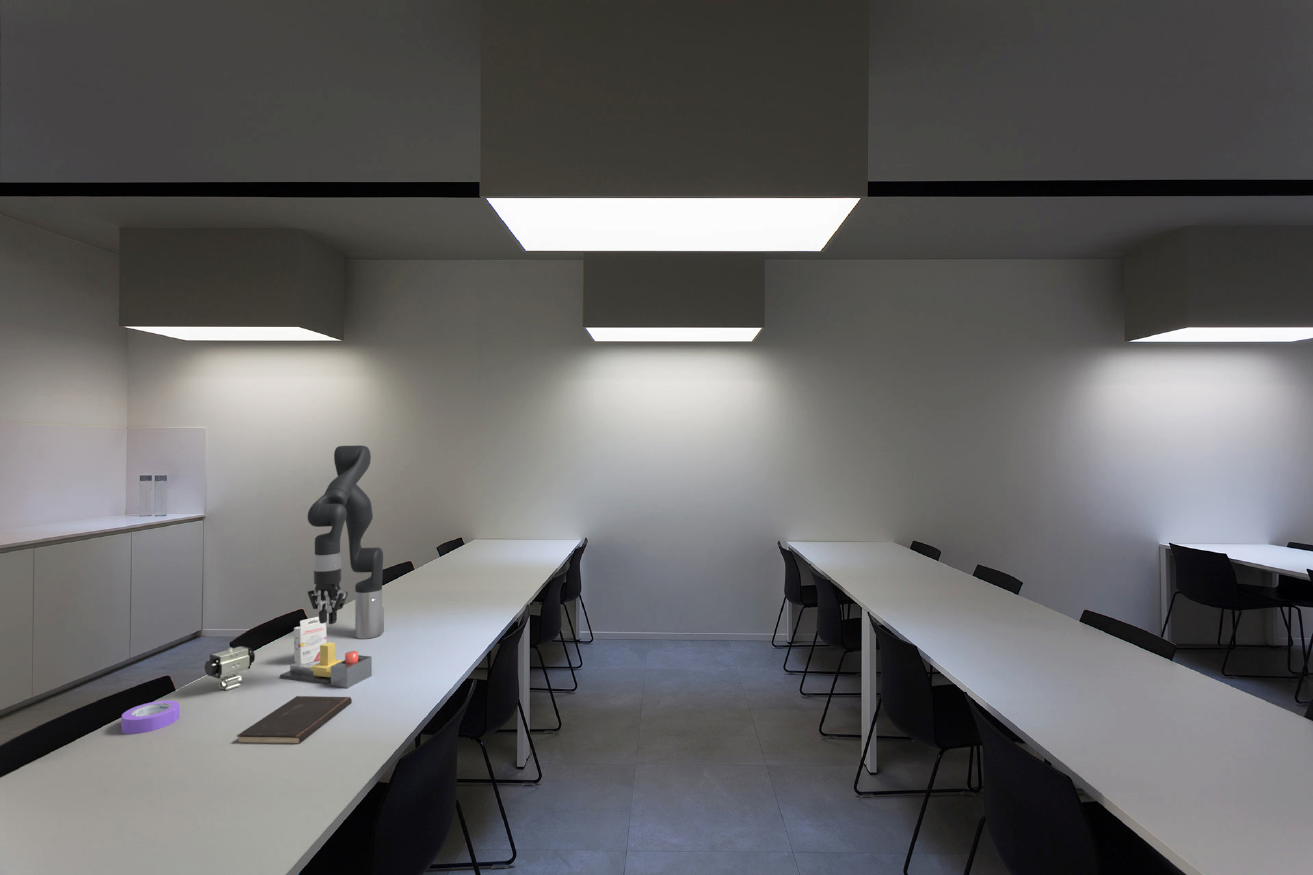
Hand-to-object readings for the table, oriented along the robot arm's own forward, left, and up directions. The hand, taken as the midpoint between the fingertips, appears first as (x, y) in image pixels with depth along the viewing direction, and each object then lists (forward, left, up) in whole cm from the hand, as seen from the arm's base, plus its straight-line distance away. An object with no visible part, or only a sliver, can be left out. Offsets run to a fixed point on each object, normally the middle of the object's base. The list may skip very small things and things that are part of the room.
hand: (327, 622), depth 189 cm
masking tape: (+37, -21, -18) cm, 46 cm away
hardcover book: (+26, +16, -18) cm, 35 cm away
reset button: (0, +9, -14) cm, 16 cm away
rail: (0, -5, -17) cm, 18 cm away
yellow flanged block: (0, 0, -16) cm, 16 cm away
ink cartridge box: (-11, -18, -17) cm, 27 cm away
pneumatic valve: (+14, -22, -17) cm, 31 cm away
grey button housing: (0, +9, -17) cm, 19 cm away
